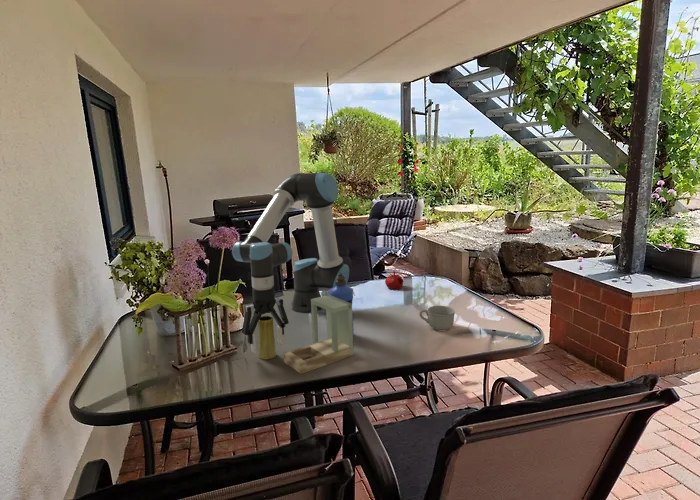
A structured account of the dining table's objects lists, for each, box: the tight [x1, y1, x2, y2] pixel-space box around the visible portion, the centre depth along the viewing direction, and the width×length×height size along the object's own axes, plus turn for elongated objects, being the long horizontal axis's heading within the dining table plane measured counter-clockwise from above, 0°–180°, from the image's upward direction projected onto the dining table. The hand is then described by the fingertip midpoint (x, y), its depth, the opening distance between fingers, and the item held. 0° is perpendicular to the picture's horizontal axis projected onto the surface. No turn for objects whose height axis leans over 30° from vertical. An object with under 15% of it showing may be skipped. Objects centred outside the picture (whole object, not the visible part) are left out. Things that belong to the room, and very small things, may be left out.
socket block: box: [283, 338, 352, 375], centre depth 153 cm, size 11×20×4 cm, turn 128°
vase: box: [257, 315, 277, 360], centre depth 156 cm, size 6×6×14 cm
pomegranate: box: [384, 270, 404, 290], centre depth 237 cm, size 10×10×9 cm
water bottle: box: [328, 275, 355, 338], centre depth 171 cm, size 9×9×25 cm
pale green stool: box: [310, 294, 354, 356], centre depth 158 cm, size 14×8×19 cm, turn 38°
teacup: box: [418, 305, 455, 331], centre depth 179 cm, size 14×11×8 cm
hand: (267, 347), depth 156 cm, fingers open, 10 cm apart
